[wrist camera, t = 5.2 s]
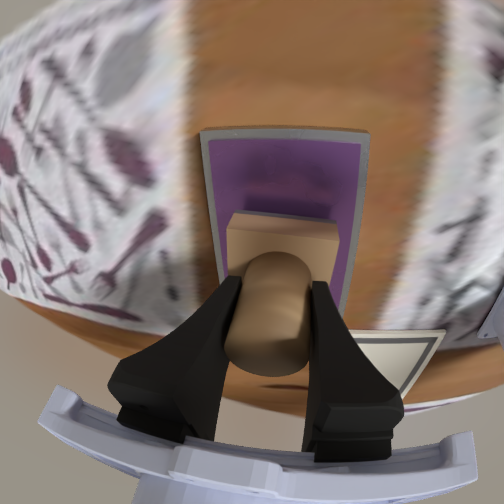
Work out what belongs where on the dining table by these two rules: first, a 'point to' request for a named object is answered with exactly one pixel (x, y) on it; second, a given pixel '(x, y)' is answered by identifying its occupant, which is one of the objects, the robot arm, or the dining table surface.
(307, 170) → the ink pad
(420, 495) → the robot arm
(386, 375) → the marked card
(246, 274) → the stamp
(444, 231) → the dining table surface
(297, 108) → the dining table surface
